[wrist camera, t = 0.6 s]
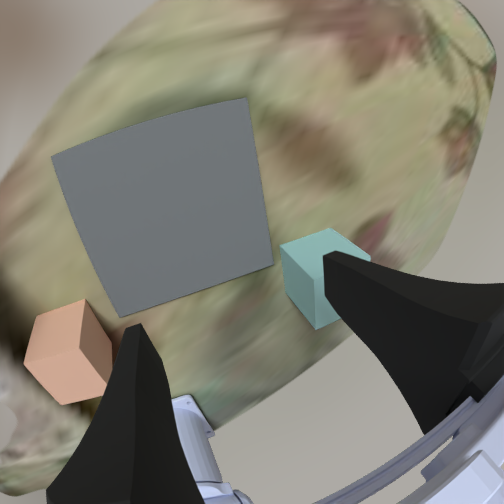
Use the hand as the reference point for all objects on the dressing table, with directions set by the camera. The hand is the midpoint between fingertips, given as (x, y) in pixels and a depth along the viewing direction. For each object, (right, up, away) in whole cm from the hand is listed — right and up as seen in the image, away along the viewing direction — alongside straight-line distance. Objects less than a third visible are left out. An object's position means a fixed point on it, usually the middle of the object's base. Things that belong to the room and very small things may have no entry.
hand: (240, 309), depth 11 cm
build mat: (-5, +4, +7) cm, 10 cm away
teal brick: (+5, +1, +13) cm, 14 cm away
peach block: (-13, -4, +8) cm, 16 cm away
